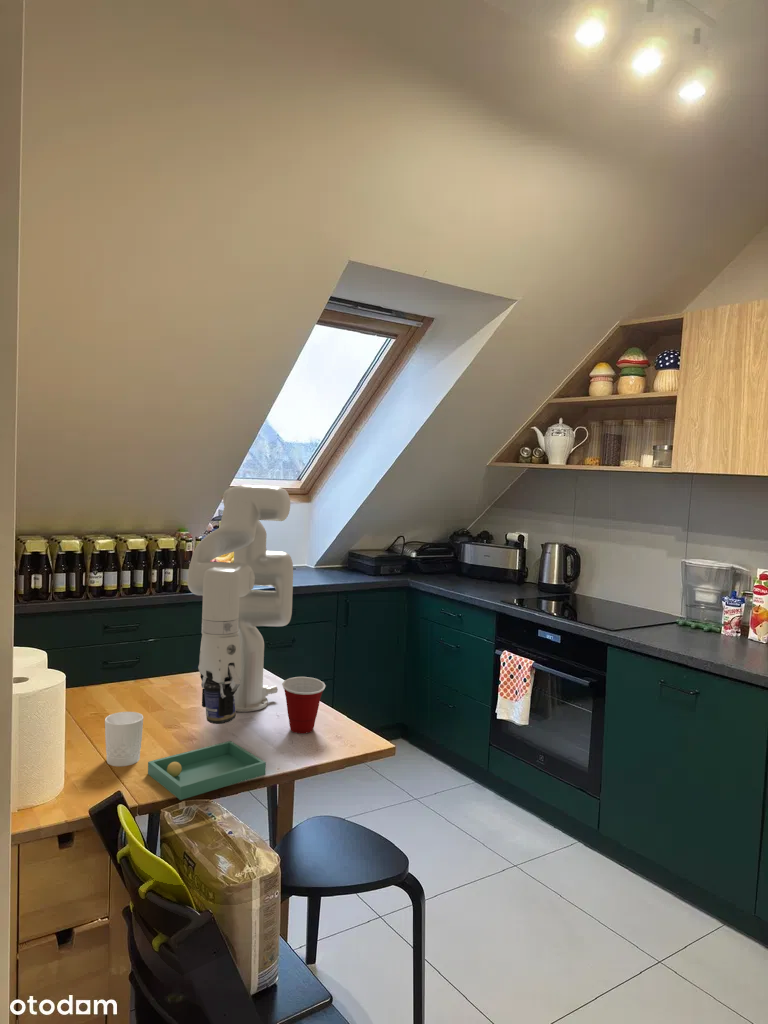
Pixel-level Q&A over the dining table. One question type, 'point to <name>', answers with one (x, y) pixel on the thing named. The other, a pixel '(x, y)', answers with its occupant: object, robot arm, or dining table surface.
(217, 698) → the pill bottle
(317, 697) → the plastic cup
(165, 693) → the dining table surface
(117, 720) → the white cup
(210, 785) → the tray
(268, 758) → the dining table surface
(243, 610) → the robot arm
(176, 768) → the ball
